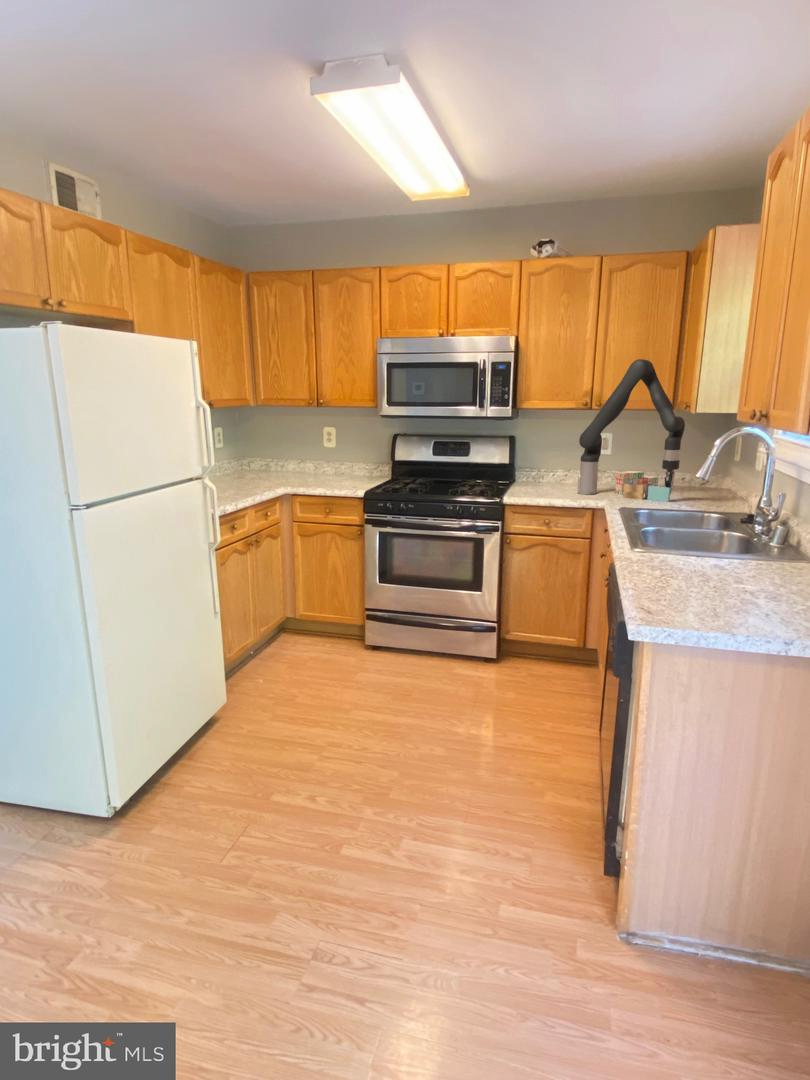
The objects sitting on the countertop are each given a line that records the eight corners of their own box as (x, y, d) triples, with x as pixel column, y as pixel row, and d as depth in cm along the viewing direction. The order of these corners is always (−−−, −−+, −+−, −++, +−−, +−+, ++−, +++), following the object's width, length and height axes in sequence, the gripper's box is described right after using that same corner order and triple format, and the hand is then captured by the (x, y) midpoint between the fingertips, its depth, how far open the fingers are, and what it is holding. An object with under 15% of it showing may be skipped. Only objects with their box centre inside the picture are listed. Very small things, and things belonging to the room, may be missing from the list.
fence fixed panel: (622, 499, 301) (624, 482, 299) (623, 498, 303) (625, 482, 301) (646, 501, 295) (648, 484, 293) (648, 500, 296) (649, 483, 294)
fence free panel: (647, 499, 294) (648, 486, 293) (648, 499, 296) (650, 485, 294) (667, 502, 288) (669, 488, 286) (669, 501, 289) (670, 487, 287)
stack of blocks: (649, 493, 322) (651, 470, 319) (657, 494, 316) (659, 471, 313) (614, 494, 316) (616, 471, 314) (621, 496, 311) (623, 472, 308)
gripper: (665, 457, 295) (662, 492, 299) (660, 460, 284) (657, 496, 288) (682, 457, 291) (678, 493, 295) (677, 460, 280) (673, 497, 284)
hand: (668, 494), depth 292 cm, fingers closed
